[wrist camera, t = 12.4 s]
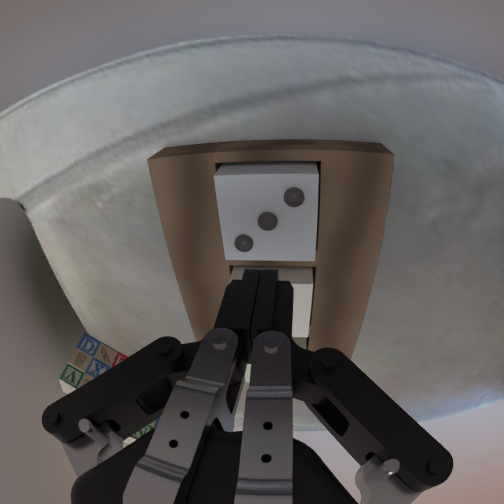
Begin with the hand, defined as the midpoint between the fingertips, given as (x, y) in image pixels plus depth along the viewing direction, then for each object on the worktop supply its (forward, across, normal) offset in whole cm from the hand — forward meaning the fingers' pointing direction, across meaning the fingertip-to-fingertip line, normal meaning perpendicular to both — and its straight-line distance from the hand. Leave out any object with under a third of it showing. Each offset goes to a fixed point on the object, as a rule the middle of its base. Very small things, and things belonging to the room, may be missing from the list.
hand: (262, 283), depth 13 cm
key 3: (+9, 0, 0) cm, 9 cm away
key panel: (+10, 0, +8) cm, 13 cm away
